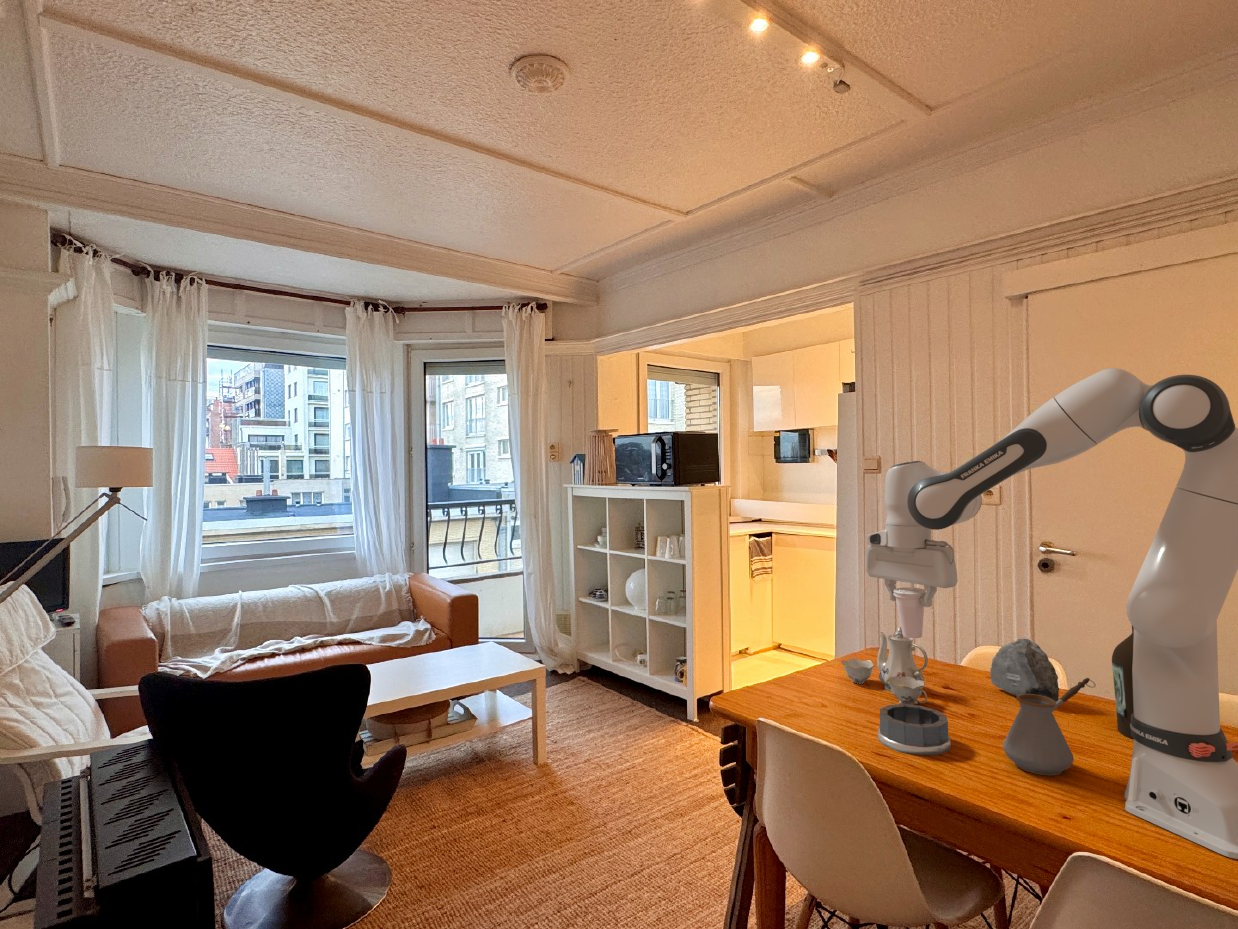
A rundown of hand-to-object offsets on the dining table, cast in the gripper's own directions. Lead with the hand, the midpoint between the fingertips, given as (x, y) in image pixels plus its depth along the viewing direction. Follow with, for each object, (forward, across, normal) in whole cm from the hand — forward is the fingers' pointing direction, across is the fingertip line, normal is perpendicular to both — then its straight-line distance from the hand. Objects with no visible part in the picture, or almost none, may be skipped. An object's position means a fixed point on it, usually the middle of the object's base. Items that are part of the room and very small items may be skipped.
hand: (910, 603), depth 139 cm
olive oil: (+29, -22, -44) cm, 57 cm away
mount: (+29, 0, 0) cm, 29 cm away
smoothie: (+7, 0, 0) cm, 7 cm away
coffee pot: (+29, -20, -15) cm, 39 cm away
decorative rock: (+29, +4, -45) cm, 54 cm away
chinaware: (+29, +25, -23) cm, 45 cm away
